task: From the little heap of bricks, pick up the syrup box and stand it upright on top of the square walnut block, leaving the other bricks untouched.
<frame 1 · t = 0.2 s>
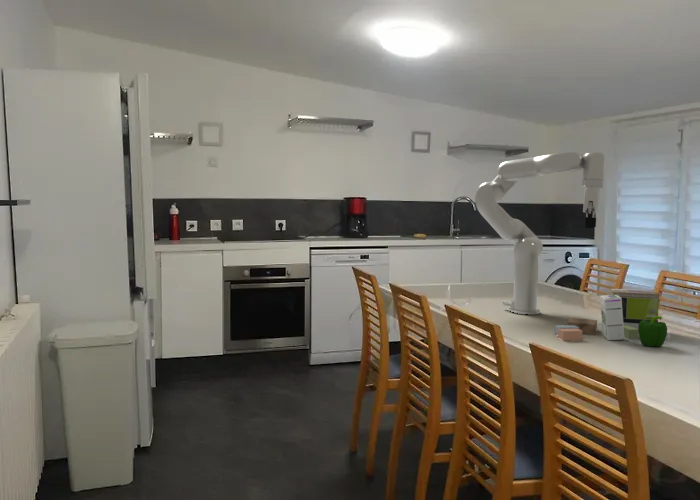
hand: (590, 227, 223), 37 cm above the table, tool pointing down, fingers open, 9 cm apart
terracotta brick: (569, 339, 191), on the table
slate brick: (566, 336, 196), on the table
bell pepper: (650, 346, 184), on the table
tea box: (631, 330, 206), on the table
walnut block: (582, 331, 204), on the table
syrup box: (613, 338, 192), on the table
olive brick: (627, 337, 196), on the table
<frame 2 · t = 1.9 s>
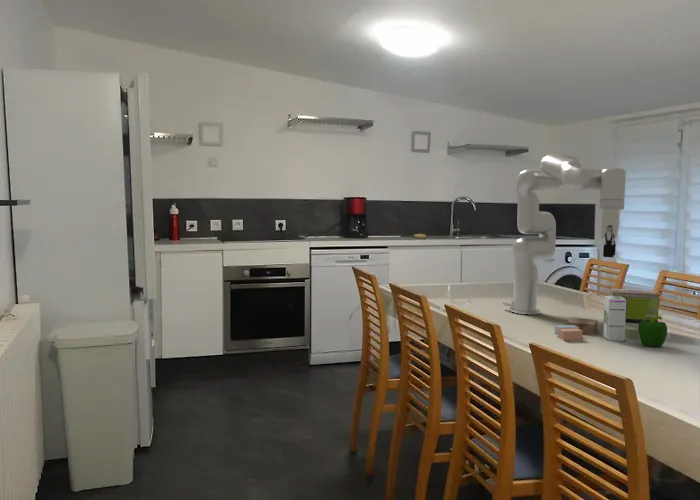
hand: (609, 256, 190), 28 cm above the table, tool pointing down, fingers open, 9 cm apart
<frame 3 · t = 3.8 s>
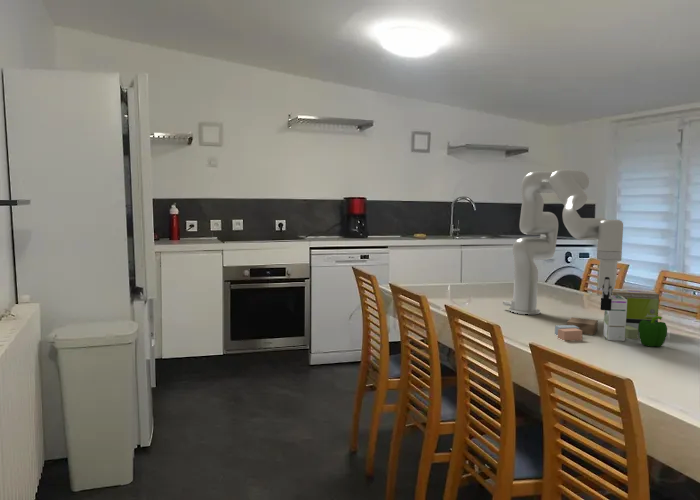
hand: (606, 308, 191), 11 cm above the table, tool pointing down, fingers closed on syrup box, 6 cm apart
syrup box: (613, 338, 192), on the table, touching gripper
everything else where it was.
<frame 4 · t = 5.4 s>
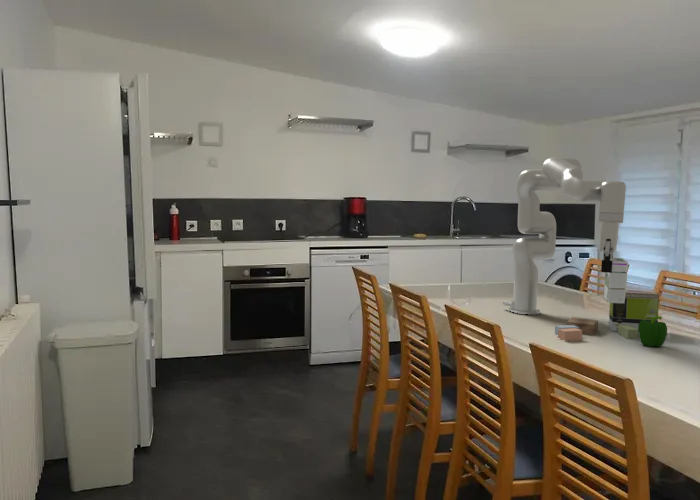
hand: (606, 270, 191), 23 cm above the table, tool pointing down, fingers closed on syrup box, 6 cm apart
syrup box: (613, 301, 192), point 13 cm above the table, touching gripper
everything else where it was.
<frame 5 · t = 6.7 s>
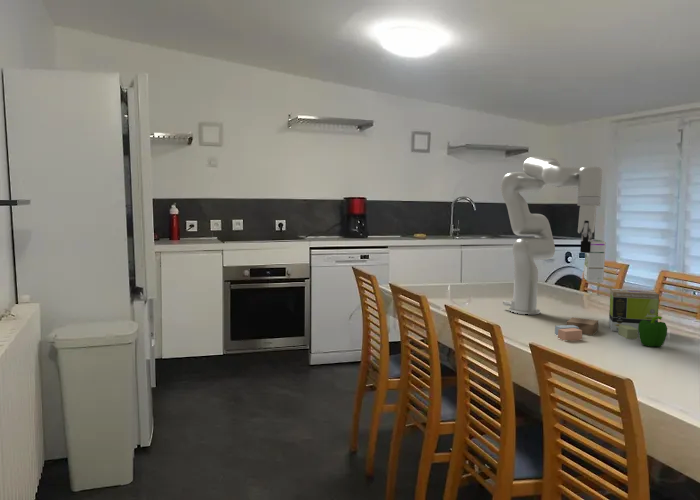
hand: (586, 251, 201), 29 cm above the table, tool pointing down, fingers closed on syrup box, 6 cm apart
syrup box: (592, 280, 202), point 18 cm above the table, touching gripper
everything else where it was.
when the fingers open (16 cm above the table, at t = 9.5 s): syrup box drops 2 cm, point 3 cm above the table.
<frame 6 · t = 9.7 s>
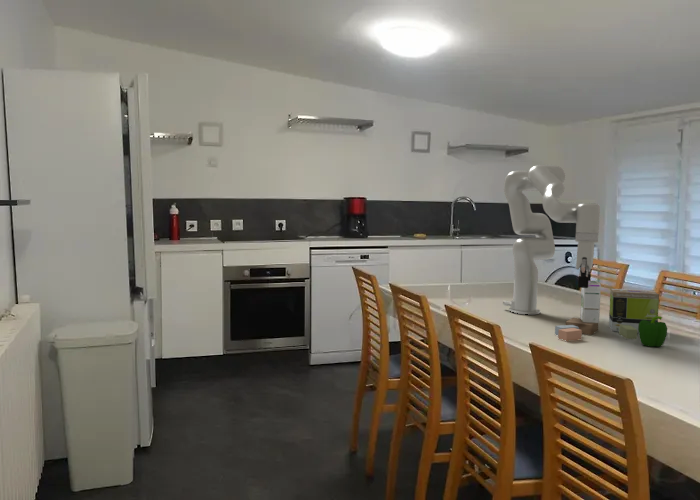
hand: (584, 285, 202), 16 cm above the table, tool pointing down, fingers open, 8 cm apart
syrup box: (589, 321, 204), point 3 cm above the table, touching gripper
everything else where it was.
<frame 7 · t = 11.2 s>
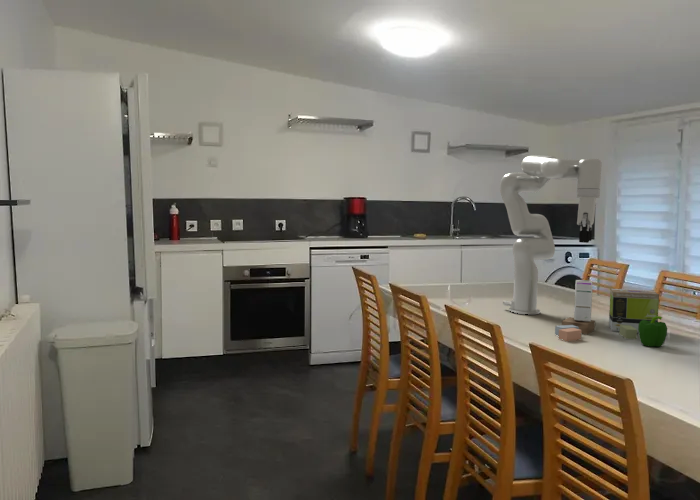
hand: (585, 241, 202), 32 cm above the table, tool pointing down, fingers open, 9 cm apart
walnut block: (578, 331, 205), on the table
syrup box: (581, 320, 205), point 4 cm above the table
everything else where it was.
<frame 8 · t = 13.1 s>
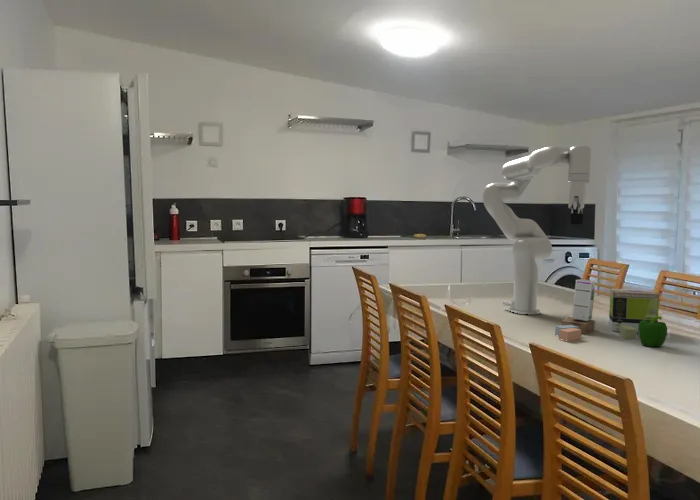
hand: (576, 223, 214), 38 cm above the table, tool pointing down, fingers open, 9 cm apart
walnut block: (577, 331, 205), on the table, touching syrup box
syrup box: (581, 319, 205), point 4 cm above the table, touching walnut block
everything else where it was.
at the end: syrup box inside the target area on the walnut block (1.4 cm from its centre), point 4.2 cm above the walnut block's base; syrup box tilted 7°; slate brick moved 0.2 cm from its start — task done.
